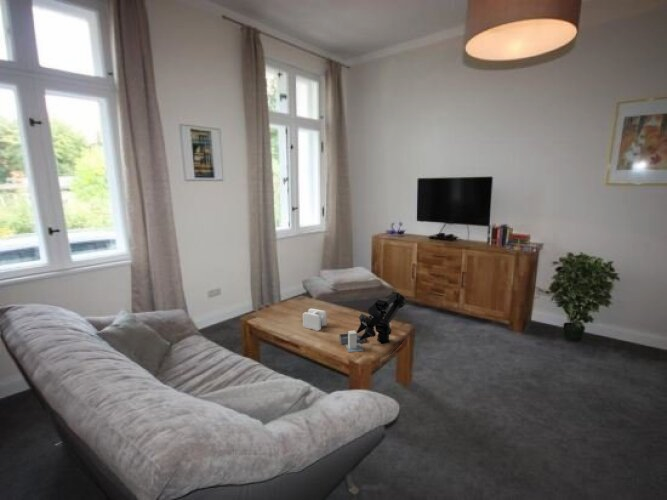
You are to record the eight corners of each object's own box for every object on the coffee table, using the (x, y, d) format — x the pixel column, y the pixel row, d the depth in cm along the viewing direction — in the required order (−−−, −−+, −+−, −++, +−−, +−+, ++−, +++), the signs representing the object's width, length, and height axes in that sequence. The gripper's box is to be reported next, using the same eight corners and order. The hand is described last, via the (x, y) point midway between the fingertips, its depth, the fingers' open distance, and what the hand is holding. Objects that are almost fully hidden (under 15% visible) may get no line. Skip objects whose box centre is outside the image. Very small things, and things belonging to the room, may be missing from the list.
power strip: (363, 337, 232) (363, 332, 231) (365, 342, 226) (365, 336, 225) (339, 339, 229) (339, 334, 228) (341, 344, 223) (341, 338, 222)
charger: (354, 344, 221) (354, 330, 219) (356, 348, 217) (356, 333, 215) (348, 345, 221) (348, 330, 219) (349, 348, 217) (349, 333, 214)
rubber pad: (360, 343, 224) (360, 343, 224) (363, 350, 215) (363, 350, 215) (345, 344, 222) (345, 344, 222) (348, 352, 213) (348, 351, 213)
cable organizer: (301, 327, 248) (301, 312, 246) (310, 322, 257) (309, 307, 255) (319, 332, 241) (319, 316, 239) (327, 326, 250) (327, 310, 248)
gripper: (363, 304, 225) (346, 322, 226) (370, 316, 207) (352, 335, 208) (375, 315, 227) (358, 332, 228) (383, 327, 209) (365, 346, 210)
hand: (358, 336), depth 219 cm, fingers open, 9 cm apart
